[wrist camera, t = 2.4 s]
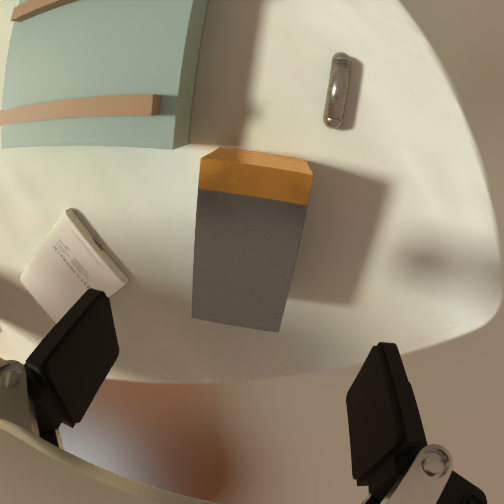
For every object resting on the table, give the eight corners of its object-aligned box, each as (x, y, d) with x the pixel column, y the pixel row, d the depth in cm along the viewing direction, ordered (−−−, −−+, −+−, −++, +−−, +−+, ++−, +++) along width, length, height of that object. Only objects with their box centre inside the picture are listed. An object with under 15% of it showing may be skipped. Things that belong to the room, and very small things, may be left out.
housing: (279, 289, 23) (278, 332, 19) (208, 277, 23) (192, 317, 19) (305, 159, 19) (313, 174, 14) (220, 147, 19) (200, 158, 14)
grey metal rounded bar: (338, 130, 18) (342, 130, 16) (320, 126, 18) (323, 126, 17) (350, 56, 15) (354, 53, 14) (332, 52, 15) (335, 48, 14)
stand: (187, 144, 19) (165, 152, 15) (25, 142, 19) (-8, 151, 15) (216, -38, 12) (201, -65, 9) (43, -2, 13) (12, -9, 9)
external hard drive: (26, 271, 26) (74, 205, 22) (72, 325, 29) (132, 276, 25) (18, 278, 25) (63, 211, 21) (65, 334, 27) (124, 286, 23)
